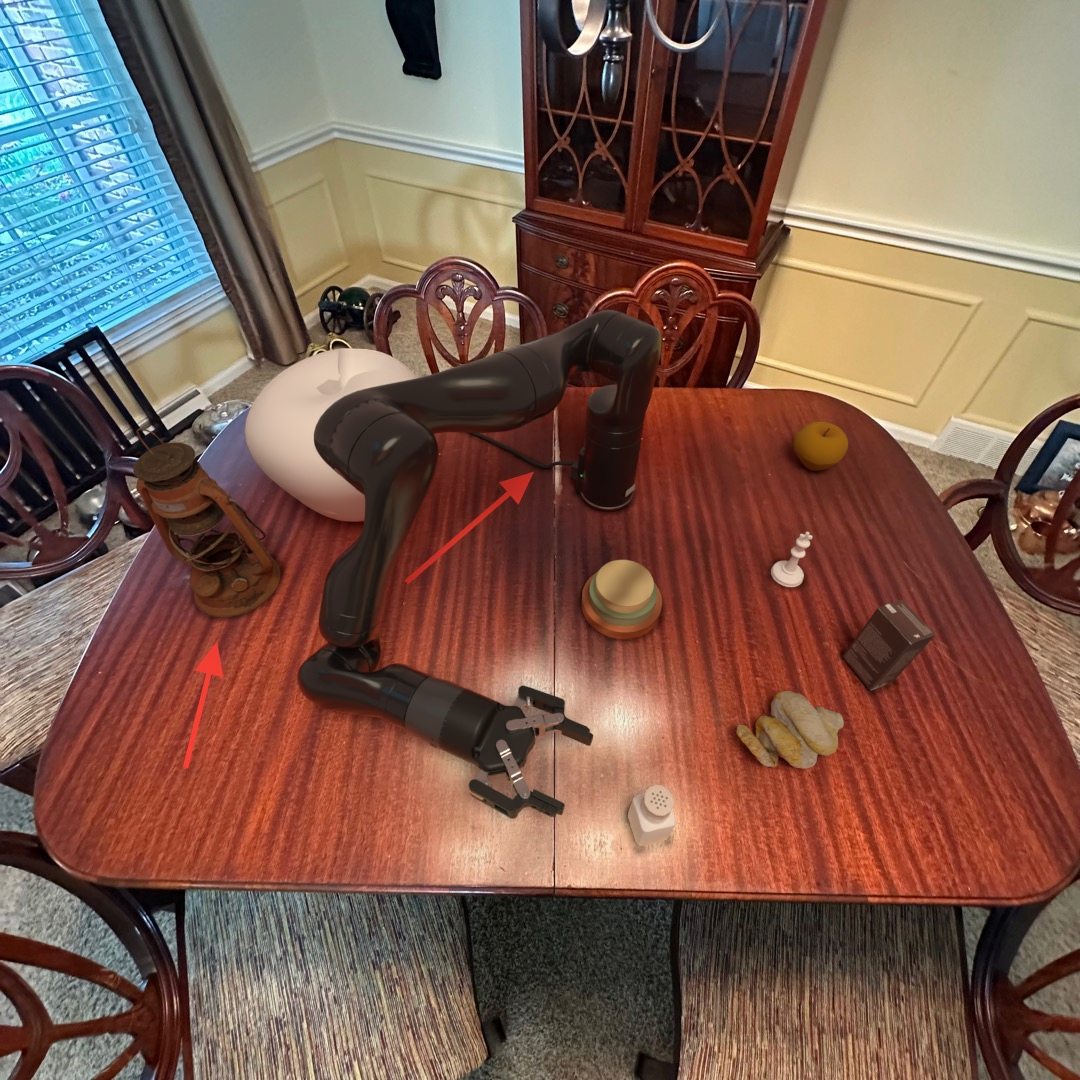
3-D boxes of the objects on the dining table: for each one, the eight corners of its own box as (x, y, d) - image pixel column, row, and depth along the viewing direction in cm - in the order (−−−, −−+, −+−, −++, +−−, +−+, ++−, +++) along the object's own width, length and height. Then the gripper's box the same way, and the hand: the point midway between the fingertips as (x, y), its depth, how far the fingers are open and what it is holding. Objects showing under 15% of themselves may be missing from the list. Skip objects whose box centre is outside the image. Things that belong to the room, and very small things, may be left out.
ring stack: (566, 614, 91) (567, 590, 86) (606, 563, 97) (609, 538, 93) (637, 653, 86) (642, 630, 82) (673, 597, 93) (680, 573, 88)
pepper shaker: (657, 805, 72) (670, 777, 65) (669, 840, 70) (683, 815, 63) (625, 813, 72) (635, 785, 65) (636, 848, 69) (647, 823, 62)
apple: (776, 464, 113) (791, 426, 106) (802, 443, 117) (818, 405, 110) (819, 488, 108) (838, 450, 102) (845, 466, 112) (864, 428, 106)
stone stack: (879, 748, 71) (756, 753, 70) (859, 774, 75) (743, 779, 74) (841, 679, 78) (730, 682, 77) (825, 706, 82) (719, 710, 81)
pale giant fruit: (373, 582, 95) (332, 464, 76) (251, 519, 103) (188, 400, 85) (472, 477, 111) (459, 358, 92) (359, 430, 119) (326, 314, 101)
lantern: (164, 609, 91) (41, 459, 69) (209, 545, 100) (113, 393, 77) (269, 625, 89) (177, 476, 67) (305, 558, 98) (235, 406, 75)
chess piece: (804, 589, 94) (827, 548, 86) (771, 584, 94) (791, 542, 87) (801, 565, 97) (823, 523, 89) (770, 560, 97) (789, 518, 90)
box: (895, 681, 83) (938, 634, 74) (868, 691, 82) (909, 645, 73) (865, 646, 87) (903, 597, 78) (839, 655, 86) (875, 607, 77)
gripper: (416, 759, 65) (554, 824, 61) (478, 654, 74) (603, 704, 69) (426, 784, 71) (552, 845, 66) (482, 683, 79) (598, 732, 75)
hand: (578, 773), depth 68 cm, fingers open, 8 cm apart
